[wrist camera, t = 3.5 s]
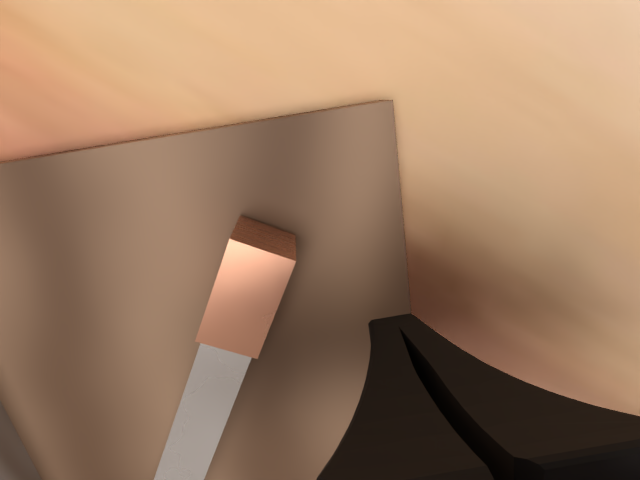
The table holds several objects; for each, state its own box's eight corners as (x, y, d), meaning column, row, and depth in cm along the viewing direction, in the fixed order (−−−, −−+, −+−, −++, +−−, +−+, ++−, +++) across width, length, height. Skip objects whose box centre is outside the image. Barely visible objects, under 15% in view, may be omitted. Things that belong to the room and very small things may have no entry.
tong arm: (172, 552, 16) (155, 616, 14) (128, 543, 16) (105, 608, 14) (295, 234, 12) (296, 261, 10) (239, 215, 12) (229, 238, 10)
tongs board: (381, 100, 12) (432, 100, 8) (420, 513, 18) (463, 647, 14) (-338, 216, 12) (-710, 285, 8) (-61, 597, 18) (-178, 761, 14)
